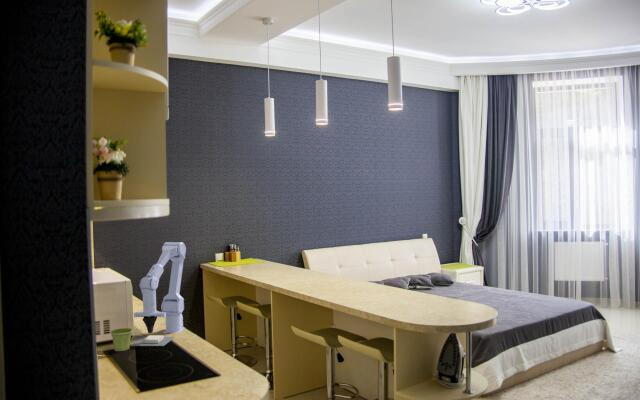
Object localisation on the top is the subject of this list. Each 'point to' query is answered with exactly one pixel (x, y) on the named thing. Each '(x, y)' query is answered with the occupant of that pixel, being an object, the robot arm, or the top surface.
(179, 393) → the top surface
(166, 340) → the mat
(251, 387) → the top surface
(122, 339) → the plant pot
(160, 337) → the tile
